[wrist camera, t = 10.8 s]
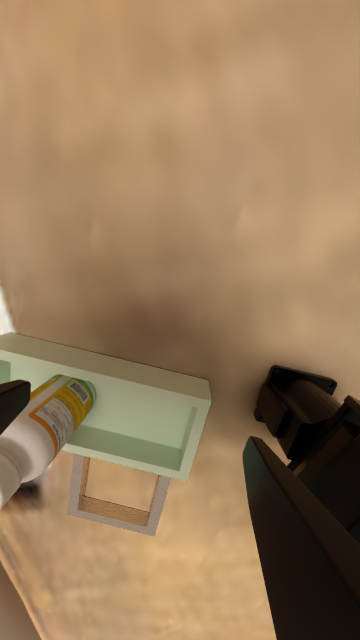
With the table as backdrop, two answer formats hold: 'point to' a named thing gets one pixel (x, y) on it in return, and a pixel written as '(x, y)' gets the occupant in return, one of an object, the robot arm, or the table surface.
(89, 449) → the trough
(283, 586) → the robot arm
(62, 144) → the table surface
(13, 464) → the supplement bottle
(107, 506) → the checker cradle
